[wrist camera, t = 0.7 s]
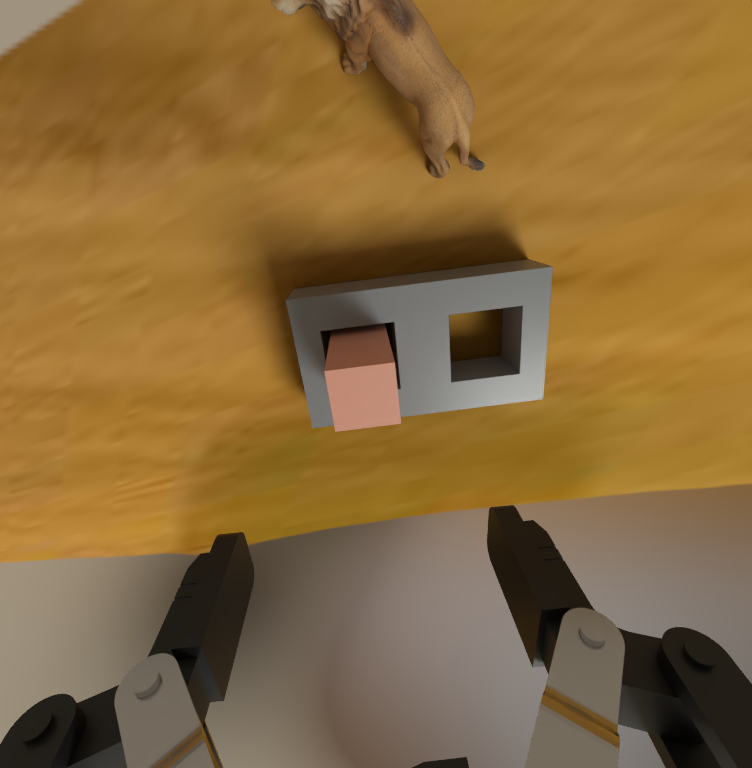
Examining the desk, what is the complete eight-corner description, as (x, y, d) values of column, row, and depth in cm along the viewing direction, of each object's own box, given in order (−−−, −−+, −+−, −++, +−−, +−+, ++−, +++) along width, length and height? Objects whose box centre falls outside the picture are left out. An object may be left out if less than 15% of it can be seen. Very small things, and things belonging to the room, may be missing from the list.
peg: (382, 316, 31) (394, 362, 22) (387, 362, 33) (400, 423, 24) (332, 322, 31) (324, 371, 22) (340, 368, 33) (335, 431, 24)
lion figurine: (276, 40, 24) (236, -47, 15) (325, -56, 22) (309, -209, 14) (456, 200, 28) (499, 199, 20) (509, 130, 26) (579, 97, 18)
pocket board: (528, 259, 30) (552, 266, 26) (522, 378, 34) (542, 398, 30) (293, 288, 30) (285, 300, 26) (317, 404, 34) (312, 428, 30)
